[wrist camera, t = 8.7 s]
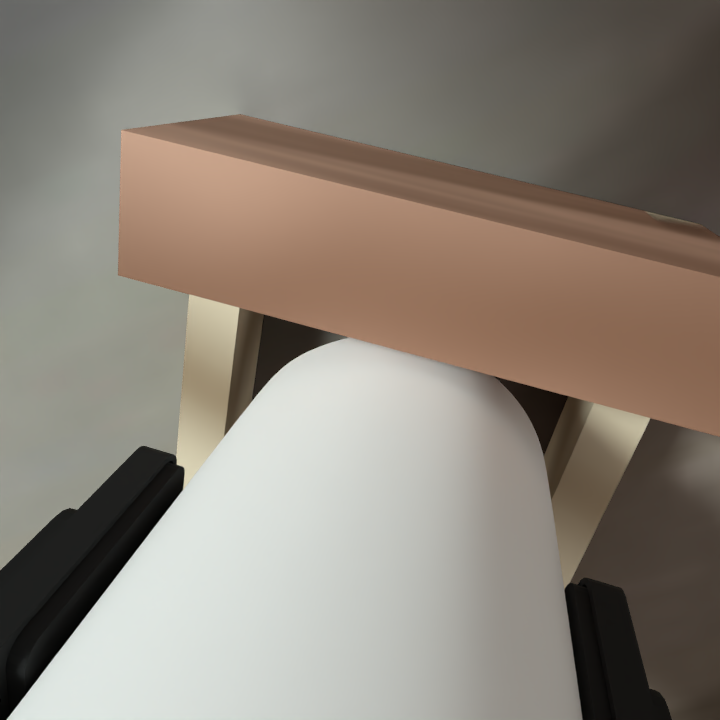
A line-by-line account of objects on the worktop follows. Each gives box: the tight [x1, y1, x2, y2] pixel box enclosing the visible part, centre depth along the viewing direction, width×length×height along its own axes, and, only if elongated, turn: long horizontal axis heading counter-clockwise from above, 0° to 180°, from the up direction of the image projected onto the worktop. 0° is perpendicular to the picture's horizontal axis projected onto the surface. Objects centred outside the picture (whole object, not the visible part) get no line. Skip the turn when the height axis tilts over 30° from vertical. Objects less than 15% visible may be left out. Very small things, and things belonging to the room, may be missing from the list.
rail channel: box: [118, 114, 720, 589], centre depth 17 cm, size 24×10×5 cm, turn 169°
